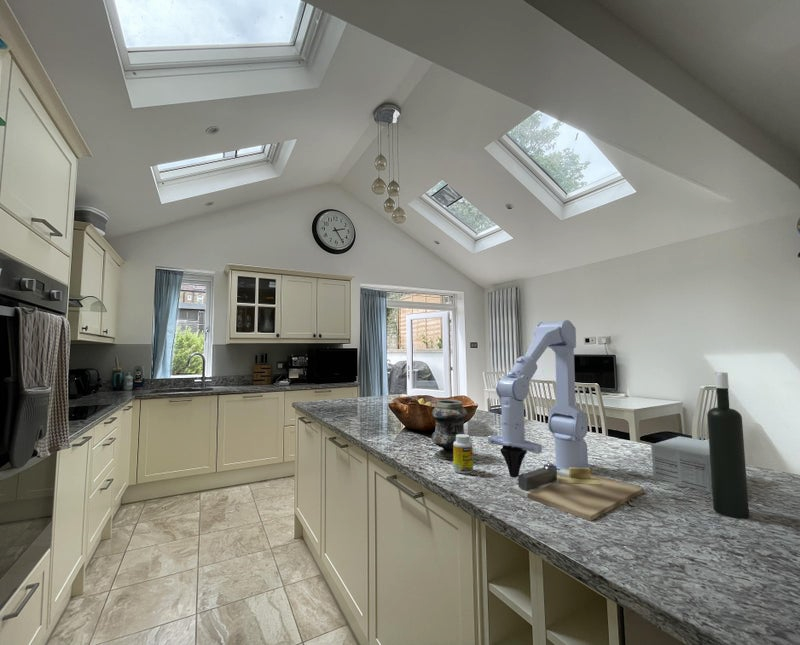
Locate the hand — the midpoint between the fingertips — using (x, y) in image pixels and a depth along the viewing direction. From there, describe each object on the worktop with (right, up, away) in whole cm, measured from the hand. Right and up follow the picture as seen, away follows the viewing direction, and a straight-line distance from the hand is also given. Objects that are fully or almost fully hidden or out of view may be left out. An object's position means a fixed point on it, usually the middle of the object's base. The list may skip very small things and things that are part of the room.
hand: (514, 476), depth 97 cm
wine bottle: (+41, -1, -17) cm, 45 cm away
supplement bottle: (-11, -3, +11) cm, 16 cm away
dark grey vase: (-13, -5, +27) cm, 31 cm away
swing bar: (+6, -1, -2) cm, 6 cm away
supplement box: (+50, -3, +4) cm, 51 cm away
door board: (+14, -2, -5) cm, 15 cm away
